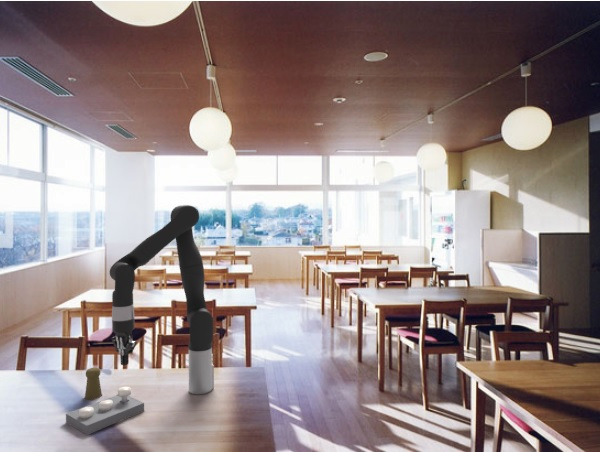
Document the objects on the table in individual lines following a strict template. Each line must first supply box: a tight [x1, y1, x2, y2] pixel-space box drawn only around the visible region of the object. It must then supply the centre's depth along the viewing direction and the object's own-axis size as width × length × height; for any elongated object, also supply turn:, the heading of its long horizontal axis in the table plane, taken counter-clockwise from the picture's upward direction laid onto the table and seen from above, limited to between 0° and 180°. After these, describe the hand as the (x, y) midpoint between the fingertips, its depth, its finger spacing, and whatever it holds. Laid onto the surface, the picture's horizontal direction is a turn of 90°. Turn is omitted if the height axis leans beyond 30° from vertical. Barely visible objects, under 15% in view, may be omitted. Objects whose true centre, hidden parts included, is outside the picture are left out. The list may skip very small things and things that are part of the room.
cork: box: [84, 367, 103, 401], centre depth 169 cm, size 6×6×11 cm
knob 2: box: [117, 386, 132, 403], centre depth 158 cm, size 4×4×5 cm
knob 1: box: [79, 406, 94, 419], centre depth 146 cm, size 4×4×5 cm
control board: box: [65, 394, 145, 436], centre depth 152 cm, size 21×14×3 cm, turn 144°
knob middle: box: [99, 399, 113, 411], centre depth 152 cm, size 4×4×5 cm
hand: (124, 364), depth 157 cm, fingers closed
